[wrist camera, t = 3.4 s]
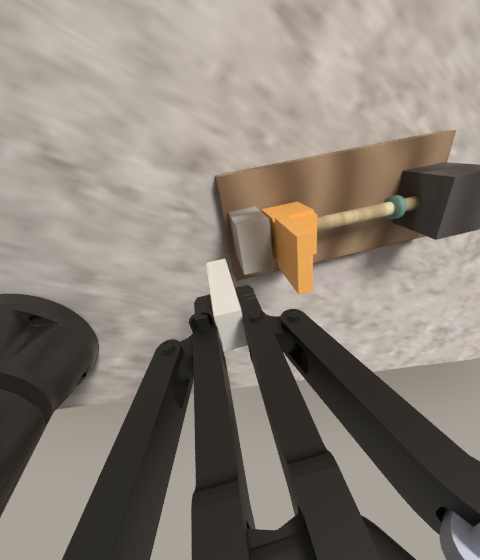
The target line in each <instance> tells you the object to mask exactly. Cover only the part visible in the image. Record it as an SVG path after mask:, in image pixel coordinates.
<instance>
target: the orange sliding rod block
mask: <svg viewBox="0 0 480 560" xmlns="http://www.w3.org/2000/svg"><path fill="white" fill-rule="evenodd" d="M262 213H263V214H264V215H265V216H267V217H268V218H269V221H270V228H271V229H272V235H273V241H272V242H271V243H272V254H273V258H274V259H275V261H277V262H278V266H279V268H280V270H281V271H282V272H283V274H284V275H285V277H286V278H287V279H288V281H289V282H290V283H291V285H292V286H293V287H294V289H295V290H296V292H297V293H298V294H303V293H307V292H311V291H313V254H317V214H316V213H314V210H313V209H311V208H309V207H307V206H305V205H303V204H301V203H299V202H293V203H289V204H284V205H279V206H274V207H270V208H265V209H262Z"/></svg>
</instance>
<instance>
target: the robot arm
mask: <svg viewBox="0 0 480 560" xmlns="http://www.w3.org/2000/svg"><path fill="white" fill-rule="evenodd" d="M206 265H207V272H208V279H209V287H210V295H206V296H202V297H198V298H197V299H196V301H195V302H194V308H195V314H194V315H192V316H191V318H190V319H189V324H190V327H191V329H192V332H193V334H192V335H191V336H190V337H189V338H187V339H185V340H184V341H182V342H179V341H177V340H173V339H171V340H167V341H165V342H163V343H162V344H160V345H159V346H158V348H157V349H156V351H155V353H154V356H153V358H152V360H151V362H150V365H149V367H148V369H147V371H146V373H145V376H144V378H143V380H142V382H141V385H140V387H139V389H138V391H137V394H136V396H135V398H134V400H133V403H132V405H131V407H130V409H129V411H128V414H127V416H126V418H125V420H124V423H123V425H122V427H121V429H120V432H119V434H118V436H117V438H116V440H115V443H114V445H113V447H112V449H111V452H110V454H109V456H108V458H107V461H106V463H105V465H104V467H103V469H102V472H101V474H100V476H99V478H98V481H97V483H96V485H95V487H94V490H93V492H92V494H91V496H90V498H89V501H88V503H87V505H86V507H85V510H84V512H83V514H82V516H81V518H80V521H79V523H78V525H77V528H76V530H75V532H74V534H73V536H72V539H71V541H70V543H69V545H68V547H67V550H66V552H65V554H64V556H63V559H62V560H150V557H151V553H152V549H153V545H154V541H155V536H156V532H157V528H158V524H159V520H160V516H161V512H162V508H163V504H164V499H165V495H166V491H167V487H168V482H169V479H170V474H171V471H172V466H173V462H174V458H175V454H176V450H177V446H178V442H179V438H180V433H181V429H182V425H183V421H184V417H185V413H186V409H187V405H188V400H189V396H190V392H191V388H192V384H193V380H194V411H195V412H194V413H195V455H196V456H195V460H196V488H195V491H194V493H193V497H192V510H191V513H192V514H191V516H192V560H416V559H415V558H414V557H413V556H411V555H410V554H409V553H408V552H407V551H406V550H404V549H403V548H402V547H401V546H400V545H399V544H398V543H396V542H395V541H394V540H393V539H392V538H391V537H390V536H388V535H387V534H386V533H385V532H384V531H383V530H381V529H380V528H379V527H378V526H377V525H375V524H374V523H373V522H371V521H370V520H368V519H367V518H365V517H363V516H361V515H360V512H359V510H358V508H357V506H356V504H355V502H354V499H353V497H352V495H351V493H350V491H349V488H348V486H347V484H346V482H345V480H344V478H343V475H342V473H341V471H340V469H339V467H338V465H337V463H336V461H335V459H334V457H333V455H332V454H331V453H330V452H329V451H328V450H327V449H326V447H325V446H324V444H323V442H322V439H321V437H320V435H319V433H318V431H317V428H316V426H315V424H314V421H313V419H312V417H311V415H310V412H309V410H308V408H307V406H306V403H305V401H304V399H303V397H302V394H301V392H300V390H299V388H298V385H297V383H296V381H295V379H294V376H293V374H292V372H291V370H290V367H289V365H288V363H287V361H286V358H285V356H284V354H283V353H285V355H286V356H287V358H288V359H289V360H290V361H291V362H292V364H293V365H294V366H295V367H296V369H297V370H298V371H299V372H300V373H301V375H302V376H303V377H304V378H305V379H306V381H307V382H308V383H309V384H310V386H311V387H312V388H313V389H314V390H315V392H316V393H317V394H318V395H319V396H320V398H321V399H322V400H323V401H324V403H325V404H326V405H327V406H328V407H329V409H330V410H331V411H332V412H333V414H334V415H335V416H336V417H337V418H338V419H339V421H340V422H341V423H342V425H343V426H344V427H345V428H346V429H347V431H348V432H349V433H350V434H351V436H352V437H353V438H354V439H355V440H356V442H357V443H358V444H359V445H360V447H361V448H362V449H363V450H364V451H365V453H366V454H367V455H368V456H369V458H370V459H371V460H372V461H373V462H374V464H375V465H376V466H377V467H378V469H379V470H380V471H381V472H382V473H383V475H384V476H385V477H386V478H387V479H388V481H389V482H390V483H391V484H392V486H393V487H394V488H395V489H396V490H397V492H398V493H399V494H400V495H401V496H402V497H403V499H404V500H405V501H406V502H407V503H408V504H409V505H410V506H411V508H412V509H413V510H414V511H415V512H416V513H417V514H418V515H419V516H420V517H421V518H422V519H423V520H424V521H425V522H426V523H427V524H428V525H429V526H430V527H431V528H432V529H433V530H434V531H436V532H437V533H438V534H439V535H440V543H441V548H442V551H443V553H444V555H445V558H446V559H447V560H480V461H478V460H476V459H475V458H473V457H471V456H469V455H468V454H467V453H466V452H465V451H463V450H462V449H461V448H460V447H459V446H458V445H456V444H455V443H454V442H453V441H452V440H451V439H450V438H448V437H447V436H446V435H445V434H444V433H443V432H441V431H440V430H439V429H438V428H437V427H436V426H434V425H433V424H432V423H431V422H430V421H429V420H427V419H426V418H425V417H424V416H423V415H422V414H420V413H419V412H418V411H417V410H416V409H415V408H414V407H412V406H411V405H410V404H409V403H408V402H407V401H405V400H404V399H403V398H402V397H401V396H400V395H398V394H397V393H396V392H395V391H394V390H393V389H392V388H390V387H389V386H388V385H387V384H386V383H385V382H383V381H382V380H381V379H380V378H379V377H378V376H376V375H375V374H374V373H373V372H372V371H371V370H370V369H368V368H367V367H366V366H365V365H364V364H363V363H361V362H360V361H359V360H358V359H357V358H356V357H354V356H353V355H352V354H351V353H350V352H349V351H347V350H346V349H345V348H344V347H343V346H342V345H341V344H339V343H338V342H337V341H336V340H335V339H334V338H332V337H331V336H330V335H329V334H328V333H327V332H325V331H324V330H323V329H322V328H321V327H320V326H318V325H317V324H316V323H315V322H314V321H313V320H312V319H310V318H309V317H308V316H307V315H306V314H305V313H303V312H302V311H300V310H297V309H289V310H286V311H284V312H283V313H282V315H281V316H278V317H275V316H269V315H266V314H265V313H264V312H263V311H262V309H261V307H260V305H259V302H258V300H257V298H256V295H255V293H254V291H253V289H252V288H251V287H250V286H248V285H246V286H242V287H238V288H234V285H233V282H232V279H231V276H230V272H229V269H228V266H227V263H226V260H225V259H221V260H216V261H212V262H208V263H206ZM247 345H248V347H249V352H250V357H251V361H252V363H253V366H254V370H255V373H256V377H257V380H258V384H259V387H260V391H261V394H262V397H263V401H264V404H265V408H266V412H267V415H268V419H269V422H270V425H271V429H272V433H273V436H274V440H275V443H276V447H277V450H278V454H279V457H280V461H281V464H282V468H283V471H284V475H285V478H286V482H287V485H288V489H289V493H290V496H291V501H292V505H293V509H294V513H295V516H294V517H293V518H292V519H291V520H289V521H288V522H287V523H286V524H284V525H283V526H282V527H281V528H279V529H278V530H274V531H273V530H257V529H255V524H254V519H253V514H252V510H251V506H250V500H249V495H248V489H247V484H246V477H245V471H244V466H243V460H242V454H241V448H240V442H239V436H238V430H237V424H236V419H235V413H234V407H233V401H232V395H231V389H230V383H229V377H228V371H227V366H226V360H225V356H224V352H223V351H227V350H231V349H235V348H239V347H243V346H247ZM97 355H98V340H97V337H96V335H95V333H94V331H93V330H92V328H91V327H90V326H89V324H88V323H87V322H86V321H85V320H84V319H83V318H81V317H80V316H79V315H78V314H76V313H75V312H73V311H72V310H70V309H68V308H66V307H65V306H62V305H60V304H58V303H55V302H53V301H50V300H47V299H44V298H40V297H35V296H30V295H22V294H0V517H1V515H2V513H3V511H4V509H5V507H6V505H7V503H8V501H9V499H10V497H11V495H12V493H13V491H14V489H15V487H16V485H17V483H18V481H19V479H20V477H21V475H22V473H23V471H24V469H25V467H26V465H27V463H28V461H29V459H30V457H31V455H32V453H33V451H34V449H35V447H36V445H37V444H38V442H39V440H40V437H41V436H42V434H43V431H44V429H45V427H46V425H47V423H48V422H49V420H50V418H51V416H52V414H53V412H54V411H55V410H56V409H57V408H58V407H59V406H60V405H61V404H62V403H63V402H64V400H65V399H66V398H67V397H68V396H69V395H70V394H71V393H72V392H73V391H74V389H75V388H76V387H77V386H78V385H79V384H80V383H81V382H82V381H83V380H84V379H85V378H86V377H87V375H88V374H89V372H90V371H91V369H92V367H93V364H94V362H95V360H96V357H97Z"/></svg>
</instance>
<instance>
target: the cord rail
mask: <svg viewBox="0 0 480 560" xmlns="http://www.w3.org/2000/svg"><path fill="white" fill-rule="evenodd" d="M455 132H456V130H450V131H440V132H435V133H430V134H425V135H419V136H414V137H409V138H404V139H399V140H394V141H389V142H384V143H379V144H374V145H369V146H363V147H358V148H353V149H348V150H343V151H338V152H333V153H328V154H323V155H318V156H313V157H308V158H302V159H297V160H292V161H287V162H282V163H277V164H272V165H267V166H262V167H257V168H252V169H246V170H241V171H236V172H231V173H226V174H221V175H216V176H215V178H216V183H217V188H218V193H219V198H220V203H221V208H222V213H223V219H224V224H225V229H226V234H227V239H228V244H229V249H230V254H231V259H232V264H233V270H234V275H235V278H236V281H237V280H241V279H245V278H250V277H254V276H258V275H262V274H267V273H271V272H275V271H280V268H279V266H278V262H277V261H275V259H274V258H273V254H272V243H271V242H272V241H273V235H272V229H271V228H270V221H269V218H268V217H267V216H265V215H264V214H263V213H262V209H265V208H270V207H274V206H279V205H284V204H289V203H293V202H299V203H301V204H303V205H305V206H307V207H309V208H311V209H313V210H314V213H316V214H317V254H313V263H314V262H318V261H322V260H326V259H331V258H335V257H339V256H343V255H348V254H352V253H356V252H360V251H365V250H369V249H373V248H377V247H382V246H386V245H390V244H394V243H399V242H403V241H407V240H411V239H416V238H420V237H424V236H428V237H430V238H433V239H435V240H437V239H441V238H445V237H449V236H453V235H458V234H462V233H466V232H470V231H475V230H479V229H480V165H476V164H461V163H447V160H448V157H449V153H450V150H451V146H452V143H453V139H454V136H455Z"/></svg>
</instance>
